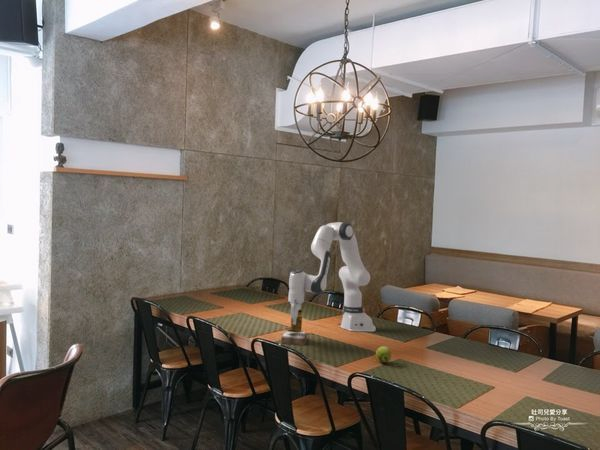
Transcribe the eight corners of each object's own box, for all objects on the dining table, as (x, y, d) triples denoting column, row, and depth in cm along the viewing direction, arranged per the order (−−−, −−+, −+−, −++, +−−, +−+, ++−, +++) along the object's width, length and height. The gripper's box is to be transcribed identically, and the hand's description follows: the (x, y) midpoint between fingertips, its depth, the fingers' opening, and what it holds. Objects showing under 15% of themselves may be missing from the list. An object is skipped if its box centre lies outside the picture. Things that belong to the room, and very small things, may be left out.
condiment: (304, 331, 282) (305, 310, 282) (291, 333, 278) (292, 311, 277) (297, 328, 289) (298, 308, 288) (284, 330, 284) (285, 309, 283)
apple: (388, 359, 258) (389, 344, 257) (392, 365, 249) (393, 349, 248) (373, 359, 257) (374, 343, 257) (377, 365, 248) (378, 349, 248)
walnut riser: (306, 338, 290) (306, 331, 290) (304, 344, 277) (304, 337, 277) (284, 337, 291) (284, 330, 291) (281, 343, 278) (281, 336, 278)
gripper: (300, 302, 272) (299, 327, 273) (303, 295, 293) (302, 318, 293) (288, 301, 273) (287, 326, 273) (292, 294, 293) (291, 318, 294)
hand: (295, 322), depth 283 cm, fingers closed on condiment, 6 cm apart
